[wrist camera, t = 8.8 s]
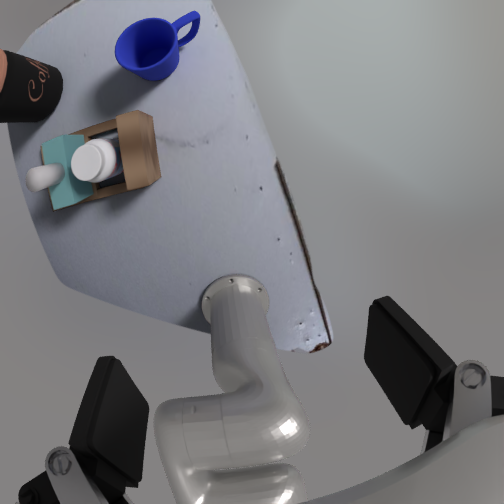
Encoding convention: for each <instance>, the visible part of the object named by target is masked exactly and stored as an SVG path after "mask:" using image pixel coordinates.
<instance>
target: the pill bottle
mask: <svg viewBox="0 0 504 504" xmlns="http://www.w3.org/2000/svg"><path fill="white" fill-rule="evenodd" d="M71 168H72V172H73V174H74V175H75V176H76V177H77V178H78V179H79V180H82V181H89V182H94V183H96V182H101V181H103V180H106V179H109V178H111V177H114V176H116V175H119V174H121V173H122V172H123V171H124V169H123V163H122V157H121V151H120V144H119V140H118V139H93V140H90V141H88V142H87V143H85V144H84V145H82V146H80V147H79V148H78V149H77V150H76V151H75V152H74V154H73V156H72V160H71Z"/></svg>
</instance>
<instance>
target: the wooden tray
mask: <svg viewBox="0 0 504 504" xmlns="http://www.w3.org/2000/svg"><path fill="white" fill-rule="evenodd" d="M114 129H118V137H119V144H120V151H121V157H122V163H123V169H124V175H125V180H126V182H122V183H118V184H114V185H110V186H107V187H103V188H100V187H99V182H96V183H94V182H91V184H92V189H93V193H94V194H93V195H91V196H89V197H87V198H85V199H83V200H81V201H79V202H77V203H75V204H72V205H69V206H66V207H62V208H59V209H56V210H54V208H53V204H52V200H51V195H50V191H49V187H47V188H48V193H49V197H50V202H51V206H52V210H53V212H54V211H57V210H60V209H63V208H67V207H70V206H74V205H77V204H81V203H84V202H88V201H92V200H95V199H99V198H103V197H107V196H111V195H115V194H119V193H123V192H128V191H132V190H137V189H141V188H144V187H145V186H149V185H150V184H152V183H153V182H155V181H156V180H158V179H159V178H160V177H161V172H160V166H159V160H158V153H157V147H156V140H155V133H154V125H153V117H152V116H150V115H148V114H146V113H144V112H141V111H139V110H136V111H132V112H128V113H125V114H121V115H118V116H116V119H112V120H109V121H106V122H103V123H100V124H97V125H94V126H91V127H88V128H85V129H82V130H79V131H77V132H74V133H71V134H69V135H84V142H85V143H87V142H88V141H90V140H91V137H92V136H95V135H98V134H101V133H104V132H107V131H111V130H114ZM41 153H42V160H43V165H45V164H44V157H43V150H42V146H41Z"/></svg>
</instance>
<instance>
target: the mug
mask: <svg viewBox="0 0 504 504" xmlns="http://www.w3.org/2000/svg"><path fill="white" fill-rule="evenodd" d="M190 22H192V27H191V29H190V31H189V33H188V34H187V35H186V36H184V37H183V38H182V39H180V40H178V37H177V33H178V31H179V29H180V28H182V27H183V26H185V25H186V24H188V23H190ZM199 25H200V15H199V13H198V12H196V11H192V12H190V13H188V14H186V15H184V16H182V17H181V18H179V19H178V20H176V21H175V22H173V23H172V24H171V23H169V22H168V21H166V20H164V19H160V18H147V19H143V20H140V21H137V22H135V23H134V24H132V25H130V26H129V27H128V28H127V29H125V30H124V31H123V33H122V34H121V35H120V37H119V38H118V40H117V43H116V46H115V57H116V60H117V61H118V63H119V64H120V65H121V66H122V67H123V68H125V69H127V70H129V71H131V72H133V73H134V74H136V75H138V76H140V77H142V78H144V79H146V80H151V81H156V80H161V79H164V78H166V77H168V76H169V75H170V74H172V73H173V71H174V70H175V69H176V67H177V65H178V63H179V48H178V46H179V47H181V46H183V45H185V44H187V43H188V42H190V41H191V40H192V39H193V38H194V37H195V36H196V34H197V32H198V29H199Z"/></svg>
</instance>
